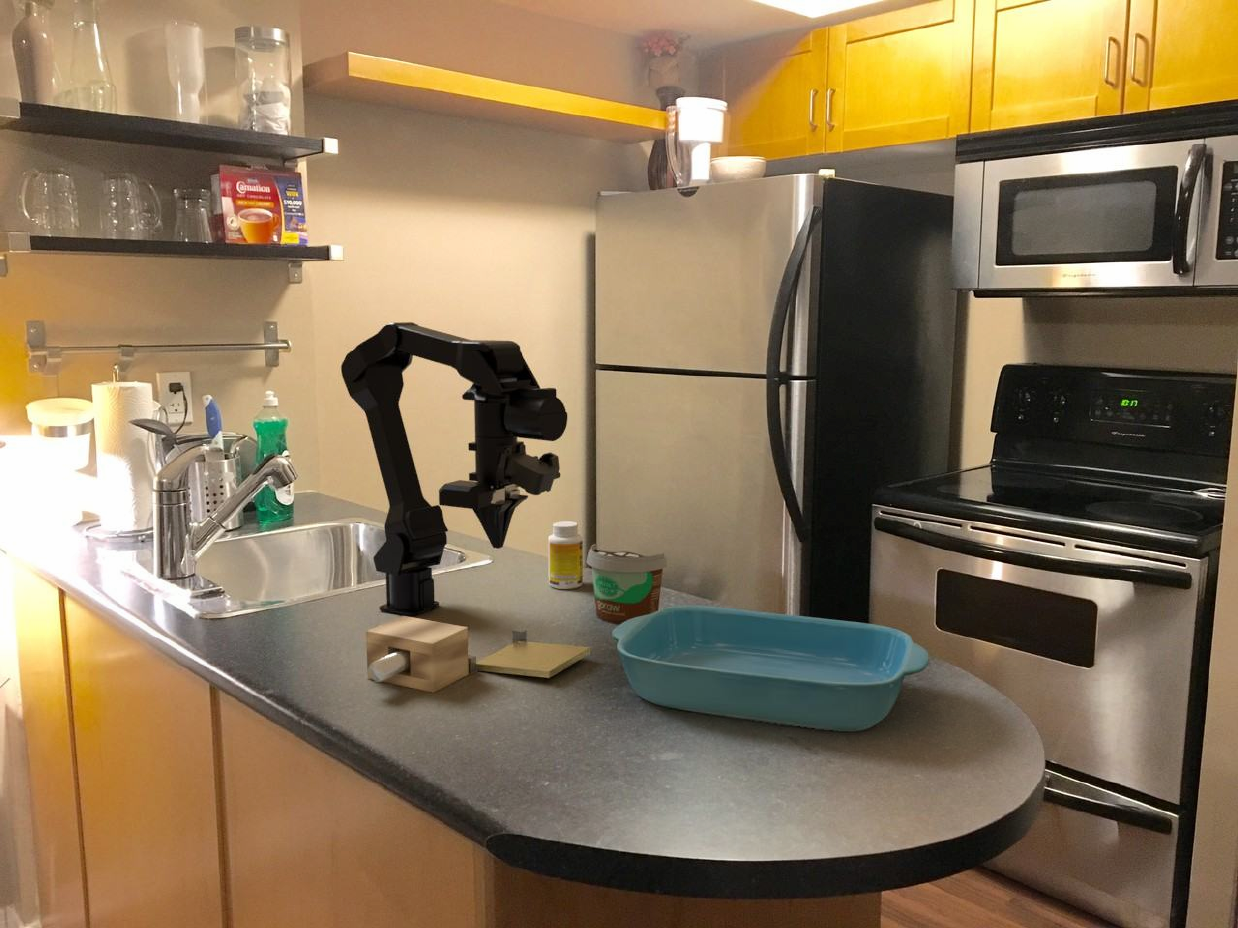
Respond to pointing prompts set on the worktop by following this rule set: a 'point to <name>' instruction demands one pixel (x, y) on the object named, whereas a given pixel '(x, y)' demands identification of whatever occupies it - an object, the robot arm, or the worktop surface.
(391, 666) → the hitch pin
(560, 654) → the plate
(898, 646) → the casserole dish
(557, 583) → the supplement bottle
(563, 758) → the worktop surface
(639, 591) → the food container
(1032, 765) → the worktop surface
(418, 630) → the block
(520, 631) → the keeper bracket
